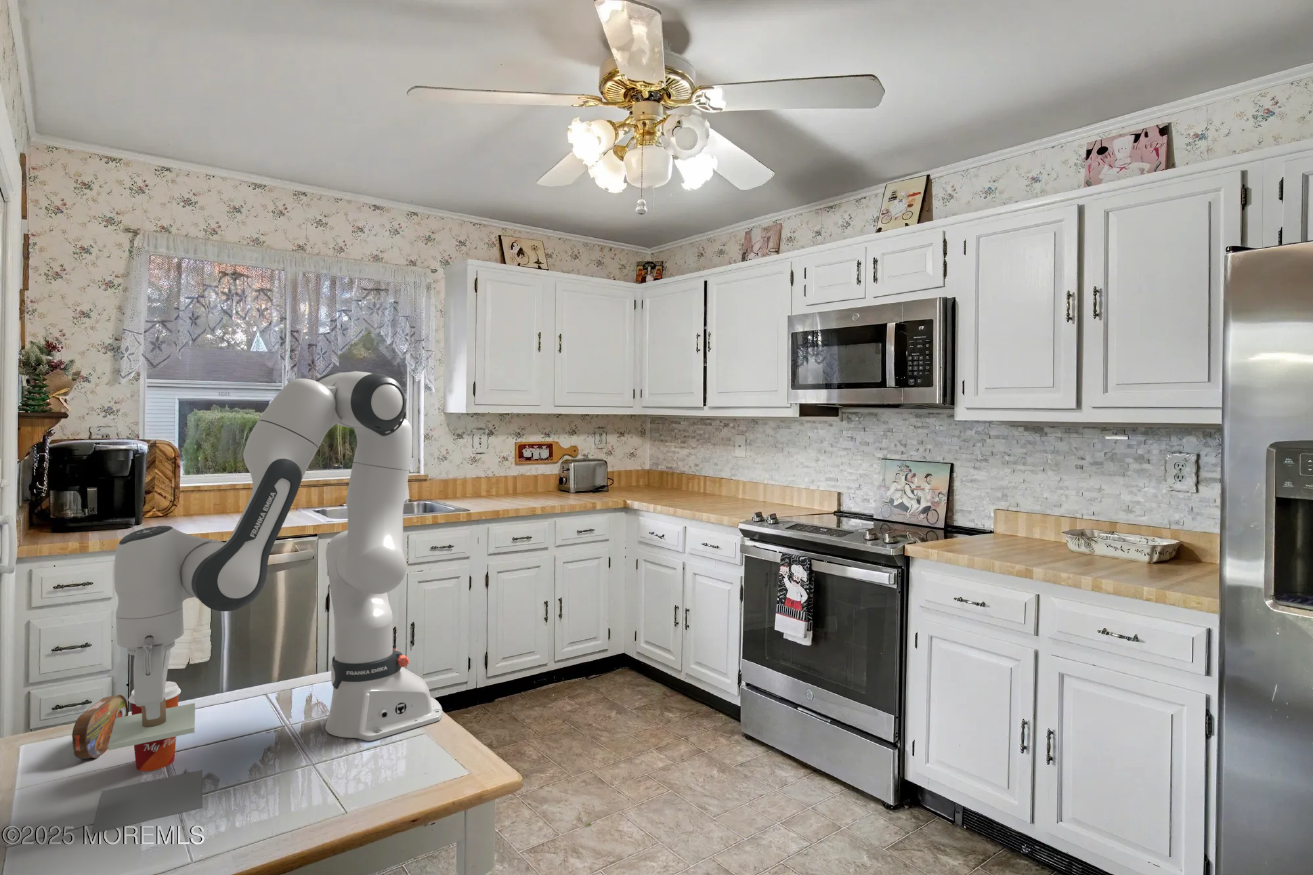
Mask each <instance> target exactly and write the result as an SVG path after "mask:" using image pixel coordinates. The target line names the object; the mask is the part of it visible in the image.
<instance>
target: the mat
mask: <svg viewBox="0 0 1313 875" xmlns="http://www.w3.org/2000/svg"><path fill="white" fill-rule="evenodd" d="M199 809H203V769H200V770H196V771H190V772H185V773H181V774H175V775H170V776H167V777H162V778H157V779H156V778H155V779H152V780H148V781H143V782H138V783H133V784H129V785H128V784H127V785H124V786H120V787H115V788H110V789H105V790H102V791H101V792H100V798H99V802H98V805H97V809H96V814H95V818H94V820H93V824H92V828H91V829H92V830H91V833H90V834H91V835H93V834H97V833H102V832H105V831H109V830H113V829H118V828H123V827H128V826H132V825H135V824H139V823H144V822H148V821H151V820H157V819H160V818H164V817H170V816H173V815H178V814H182V813H188V812H189V811H190V812H191V811H194V810H199Z"/></svg>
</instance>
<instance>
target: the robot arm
mask: <svg viewBox="0 0 1313 875" xmlns="http://www.w3.org/2000/svg"><path fill="white" fill-rule="evenodd" d="M406 408H407V402H406V396H405V392H404V389H403V386H402V385H401V384H400V383H399V382H398V381H397V380H395V379H394V378H393V377H390V376H387V375H385V374H383V373H376V372H375V373H374V372H373V373H371V372H368V371H357V370H356V371H355V370H354V371H348V372H339V371H336V372H330V373H327V374H323V375H322V376H320V377H318V378H317V379H316V380H313V379H309V378H296V379H292V380H290V381H289V382H288V383H286V385H284V387H283V388H282V389H281V390H280V391H279V392H278V393H277V394H276V395H275V396H274V397H273V399H272V401H271V402H270V403H269V404H268V406H267V407H266V408H265V409H264V411H263V412H262V414H261V416H260V417H259V419H258V421H257V422H256V424H255V425H254V427H253V428H252V431H251V433H250V434H249V436H248V438H247V441H246V444H245V446H244V450H243V454H242V455H243V461H244V463H245V466H246V468H247V470H248V471H249V474H250V477H251V481H252V482H251V483H252V490H251V495H250V497H249V500H248V501H247V503H246V505H245V507H244V509H243V512H242V514H241V515H240V517H239V519H238V521H237V523H236V524H235V525H236V526H235V527H234V529H233V531H232V534H231V535H230V537H229V538H228V539H227V540H226V541H224V542H223V541H221V540H217V539H212V538H205V537H199V536H195V535H191V534H188V533H185V532H182V531H180V530H178V529H176V528H174V527H173V526H170V525H157V526H151V527H146V528H141V529H137V530H135V531H133V532H131V533H129V534H126V535H125V536H124V537H122V539H120V540H119V542H118V544H117V545H116V548H115V549H116V550H115V555H114V567H113V569H114V571H113V574H114V575H113V578H114V580H113V583H114V591H115V593H116V596H117V599H118V600H117V601H118V602H117V608H116V611H115V624H116V625H115V626H116V628H115V629H116V645H117V646H118V647H122V648H126V649H127V654H128V655H130V656H134V657H133V690H134V700H135V704H136V706H145V708H146V718H147V719H148V720H152V719H157V718H159V717H160V702H162V701H163V699H164V693H165V686H166V681H167V676H168V668H169V663H170V657H171V650H172V649H173V648H174V647H175V646H176V640H177V639H179V638H181V637H182V636H183V635H184V632H185V630H184V606H183V605H184V604H183V603H184V601H185V600H187V599H192V598H196V599H197V600H198V601H199V602H201V603H202V604H203V605H204V606H206V607H207V608H209V609H210V610H213V611H217V612H231V611H235V610H239V609H242V608H244V607H246V606H248V605H249V604H251V603H252V602H253V601H254V600H255V599H256V598H257V597H258V596H259V595H260V593H261V592H262V590H263V588H264V586H265V584H266V580H267V574H268V562H269V559H270V554H271V552H272V549H273V546H274V544H275V542H276V540H277V538H278V535H279V534H280V531H281V530H282V527H283V525H284V523H285V521H286V519H287V517H288V514H289V512H290V510H291V508H292V506H293V504H294V501H295V499H296V497H297V495H298V491H299V489H300V486H301V483H302V482H303V481H302V480H303V478H304V477H305V473H306V472H307V470H308V468H309V466H310V464H311V463H312V460H314V457H315V455H316V453H317V451H318V450H319V448H320V446H321V444H322V442H324V441H323V440H324V439H325V436H326V435H327V433H328V432H329V431H330V430H331V429H332V428H333V427H334V426H335V425H336V426H342V427H345V428H349V429H350V428H351V429H354V432H355V436H356V447H355V452H354V456H353V461H352V464H351V465H352V466H351V470H350V477H349V481H348V482H349V483H348V488H347V493H346V499H345V503H346V509H347V510H346V511H347V530H344V531H340V533H338V534H336V535H334V536H333V537H332V538H331V539H330V541H329V543H328V544H327V546H326V550H325V560H326V564H327V571H328V580H329V590H330V591H329V592H330V596H331V604H332V611H333V620H334V627H333V628H334V655H333V657H332V658H331V659H332V660H331V667H330V668H331V676H330V677H331V678H330V679H331V680H330V681H331V685H332V695H331V703H330V709H329V713H328V717H327V720H326V723H325V727H324V728H325V730H326V732H328V734H330V735H332V736H335V737H339V738H350V739H354V738H355V739H360V740H364V741H370V742H372V741H376V740H378V739H383V738H385V737H388V736H389V737H390V736H391V735H392V736H393V735H395V734H398V733H403V732H406V731H408V730H413V729H416V728H418V727H422V726H425V725H429V724H432V723H435V722H438V721H440V720H441V719H442V718H443V707H442V705H441V704H440V703H439V701H438V700H436V698H433V697H432V696H431V693H430V689H429V686H428V684H427V683H426V681H425V680H424V679H423V678H422V677H420V676H419V675H417V674H416V673H414V672H412V671H410V670H409V669H407V668H406V667H407V666H408V665H409V664H410V659H409V658H408V657H407V656H406V654H405V655H404V654H403V653H402V652H400V651H398V650H397V649H396V648H394V644H393V642H394V641H393V640H394V637H393V636H394V630H393V629H394V615H393V614H394V613H393V611H392V607H391V604H390V600H389V597H388V596H389V595H388V593H389V592H391V591H393V590H395V589H396V588H397V587H398V586H399V585H400V584H401V582H402V581H403V580H404V578H405V575H406V570H407V562H406V558H405V554H404V506H405V501H406V500H405V499H406V493H407V488H408V480H409V476H410V469H411V464H412V457H413V456H412V454H413V428H412V424H411V423H410V422H409V420H407V419H406V414H407V413H406ZM433 706H434V707H433Z"/></svg>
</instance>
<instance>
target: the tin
mask: <svg viewBox="0 0 1313 875" xmlns="http://www.w3.org/2000/svg"><path fill="white" fill-rule="evenodd" d="M124 716H129V704H128V701H127V699H126V697H125V696H124V695H122V694H117V695H110V696H105V697H103V698H101V699H99V701H96V703H95V704H93V705H92V706H91V707H89V708H88V709H86V710H85V711H84V712H83V713H82V714H80V716H79V717H78V718H77V719H76V722H75V723H74V726H73V727H72V728H73V729H72V731H71V732H72V733H71V738H72V748H73V755H74V756H75V757H76V758H77V759H79V760H86V759H87V760H88V759H98V758H100V757H101V756H102V755H103V754H104V753H106V751H108V744H109V741H110V737H111V734H112V730H113V726H114V723H115V719H116V718H119V717H124ZM100 755H101V756H100Z"/></svg>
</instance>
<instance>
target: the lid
mask: <svg viewBox="0 0 1313 875" xmlns="http://www.w3.org/2000/svg"><path fill="white" fill-rule="evenodd" d="M195 720H196V703H195V702H193V703H188V704H183V705H182V704H181V705H178V706H177V707H171V708H166V701H165V698H164V699H163V701H162V702H160V717H159V718H157V719H152V720H148V719H147V718H146V708H145V706H142V713H140V714H135V715H132V714H130V715H128V716H124V717H119V718H116V719H115V723H114V726H113V730H112V734H111V737H110V741H109V744H108V749H107V751H112V750H117V749H121V748H127V747H132V746H134V745H137V744H142V743H146V742H151V741H156V740H161V739H166V738H170V737H175V736H176V737H179V736H180V737H181V736H185V735H188V734H193V733H195V724H196V723H195V722H196V721H195Z"/></svg>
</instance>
